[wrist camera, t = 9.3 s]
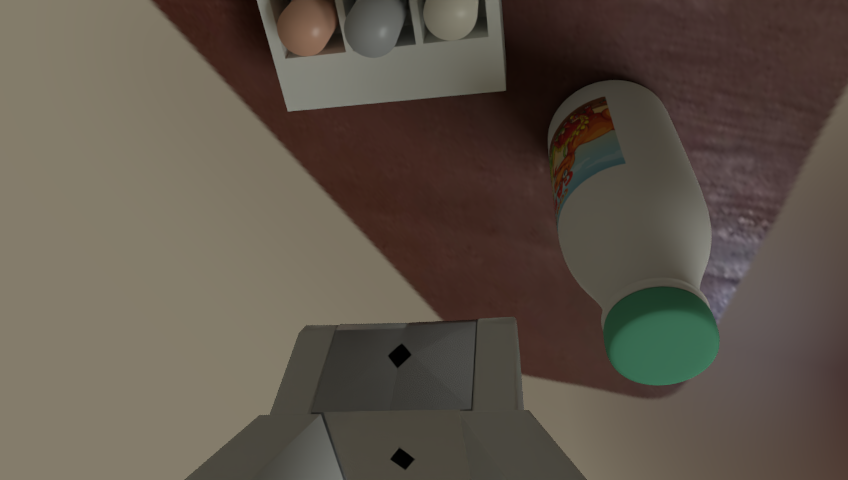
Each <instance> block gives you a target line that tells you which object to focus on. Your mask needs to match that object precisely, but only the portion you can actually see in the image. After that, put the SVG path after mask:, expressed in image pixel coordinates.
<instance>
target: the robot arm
mask: <svg viewBox="0 0 848 480" xmlns="http://www.w3.org/2000/svg"><path fill="white" fill-rule="evenodd" d="M185 480H587V479H586V478H585V477H584V476H583V475H582V473H581V472H580V471H579V470H578V469H577V467H576V466H575V465H574V464H573V463H572V461H571V460H570V459H569V458H568V457H567V456H566V454H565V453H564V452H563V451H562V449H561V448H560V447H559V446H558V445H557V444H556V442H555V441H554V440H553V439H552V437H551V436H550V435H549V434H548V433H547V431H546V430H545V429H544V428H543V427H542V425H540V423H539V422H538V421H537V420H536V418H535V417H534V416H533V415H532V413H531V412H530V411H529V410H524V405H523V391H522V379H521V366H520V354H519V343H518V331H517V323H516V319H515V318H514V317H502V318H485V319H479V320H478V319H476V320H456V321H436V322H416V323H387V324H386V323H383V324H340V325H310V326H309V325H308V326H305V327H304V328H303V330H301V332H300V333H299V335H298V338H297V340H296V343H295V346H294V349H293V351H292V354H291V357H290V360H289V362H288V365H287V368H286V371H285V374H284V377H283V379H282V382H281V385H280V387H279V390H278V393H277V396H276V399H275V402H274V404H273V407H272V410H271V412H270V415H259V416H258V417H257V418H256V419H254V420H253V421H252V422H251V423H250V424H249V425H248V426H246V427H245V428H244V429H243V430H242V431H241V432H239V433H238V434H237V435H236V436H235V437H234V438H232V439H231V440H230V441H229V442H228V443H227V444H226V445H224V446H223V447H222V448H221V449H220V450H219V451H217V452H216V453H215V454H214V455H213V456H211V457H210V458H209V459H208V460H207V461H206V462H204V463H203V464H202V465H201V466H200V467H199V468H198V469H196V470H195V471H194V472H193V473H192V474H191V475H189V476H188V477H187V478H186V479H185Z"/></svg>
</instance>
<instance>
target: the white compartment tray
mask: <svg viewBox="0 0 848 480" xmlns="http://www.w3.org/2000/svg"><path fill="white" fill-rule="evenodd" d="M291 1H292V0H257V3H258V7H259V10H260V14H261V17H262V21H263V24H264V28H265V32H266V35H267V39H268V42H269V46H270V49H271V53H272V56H273V60H274V64H275V67H276V71H277V74H278V78H279V81H280V85H281V88H282V92H283V96H284V99H285V103H286V106H287V110H288V111H297V110H308V109H318V108H329V107H339V106H350V105H360V104H371V103H381V102H392V101H402V100H413V99H424V98H434V97H445V96H455V95H466V94H476V93H487V92H497V91H506V54H505V41H504V28H503V15H502V2H501V0H479V4H478V13H477V20H476V23H475V26H474V28H473V29H472V30H471V32H470V33H469V34H468V35H466V36H465V37H463V38H461V39H458V40H454V41H448V40H443V39H440V38H438V37H436V36H435V35H433V34H432V33H431V32H430V31H429V29H428V28H427V26H426V24H425V21H424V16H423V10H424V6H425V2H426V0H408V12H407V15H406V18H405V21H404V23H403V26H402V29H401V31H400V34H399V37H398V39H397V42H396V44H395V46H394V48H393V49H392V50H391V51H390V52H389V53H387V54H386V55H384V56H381V57H377V58H369V57H365V56H362V55H360V54H358V53H357V52H355V51H354V50H353V49H352V48H351V47H350V45H349V44H348V42H347V40H346V38H345V34H344V23H345V20H346V17H347V16H348V14H349V12H350V10H351V9H352V7H353V5H354V4H355V2H356V0H335V3H336V8H337V12H338V17H339V24H338V26H337V27H336V29H335V31H334V32H333V34H332V36H331V37H330V39H329V41H328V42H327V44H326V45H325V47H324V48H323V50H322V51H320V52H319V53H317V54H315V55H312V56H300V55H297V54H294V53H292V52H291V51H289V50H288V49H287V48H286V47H285V46H284V45H283V43H282V42H281V40H280V38H279V36H278V32H277V22H278V19H279V16H280V15H281V13H282V12H283V11H284V9H285V8H286V7H287V6H288V5H289V4H290V2H291Z"/></svg>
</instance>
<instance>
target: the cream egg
mask: <svg viewBox="0 0 848 480" xmlns="http://www.w3.org/2000/svg"><path fill="white" fill-rule="evenodd" d="M478 4H479V0H426V2H425V6H424V10H423V16H424V21H425V24H426V26H427V28H428V29H429V31H430V32H431V33H432V34H433V35H435V36H436V37H438V38H440V39H443V40H448V41H454V40H458V39H461V38H463V37H465V36H466V35H468V34H469V33H470V32H471V30H472V29H473V28H474V26H475V23H476V20H477V13H478Z"/></svg>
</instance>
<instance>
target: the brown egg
mask: <svg viewBox="0 0 848 480" xmlns="http://www.w3.org/2000/svg"><path fill="white" fill-rule="evenodd" d="M338 24H339V17H338V12H337V8H336V3H335V0H292V1H291V2H290V4H289V5H288V6H287V7H286V8H285V9H284V11H283V12H282V13H281V15H280V16H279V19H278V22H277V32H278V36H279V38H280V40H281V42H282V43H283V45H284V46H285V47H286V48H287V49H288V50H289V51H291V52H292V53H294V54H297V55H300V56H312V55H315V54H317V53H319V52H320V51H322V50H323V48H324V47H325V45H326V44H327V42H328V41H329V39H330V37H331V36H332V34H333V32H334V31H335V29H336V27H337V26H338Z"/></svg>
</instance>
